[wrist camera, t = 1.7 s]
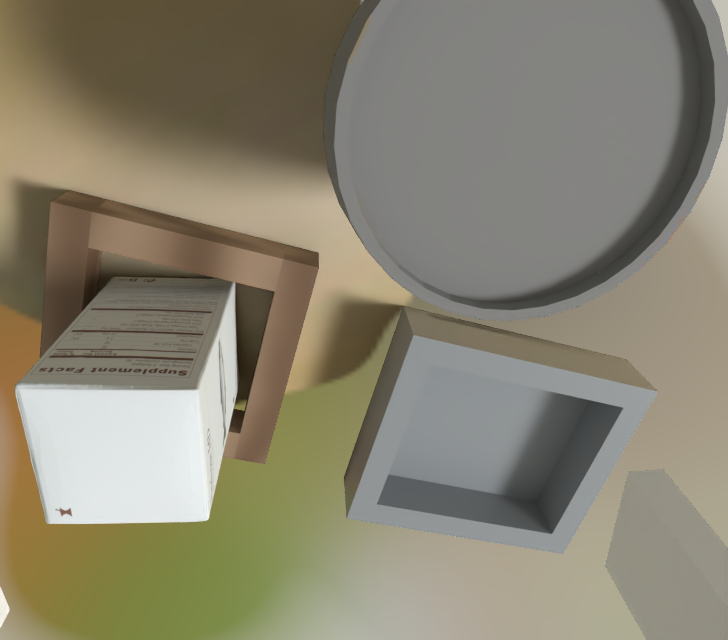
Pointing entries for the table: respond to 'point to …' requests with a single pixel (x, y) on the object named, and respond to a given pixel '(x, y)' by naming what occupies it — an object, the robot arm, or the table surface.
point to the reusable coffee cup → (522, 142)
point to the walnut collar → (194, 254)
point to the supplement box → (135, 403)
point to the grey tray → (490, 433)
